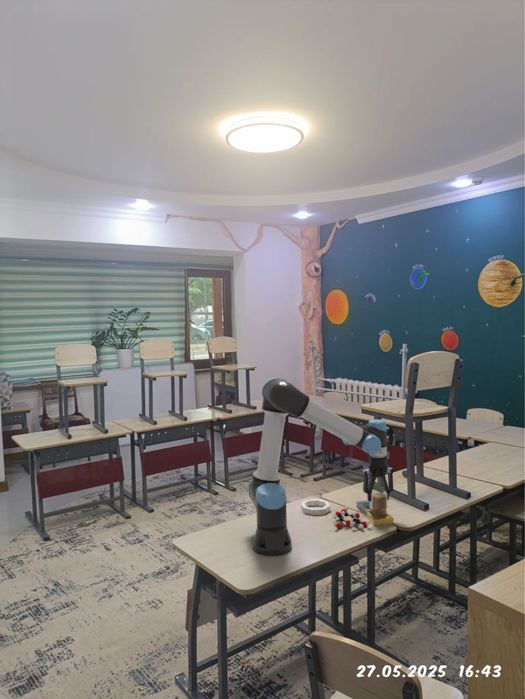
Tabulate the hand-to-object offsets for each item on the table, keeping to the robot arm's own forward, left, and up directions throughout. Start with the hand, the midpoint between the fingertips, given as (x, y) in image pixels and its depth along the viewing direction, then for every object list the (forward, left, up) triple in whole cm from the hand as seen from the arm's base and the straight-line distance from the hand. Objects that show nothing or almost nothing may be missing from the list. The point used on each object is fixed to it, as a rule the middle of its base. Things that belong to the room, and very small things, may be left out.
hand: (378, 507), depth 214 cm
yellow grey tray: (0, +5, -5) cm, 7 cm away
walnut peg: (0, 0, -6) cm, 6 cm away
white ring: (-24, +17, -5) cm, 30 cm away
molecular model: (-14, -2, -6) cm, 15 cm away
